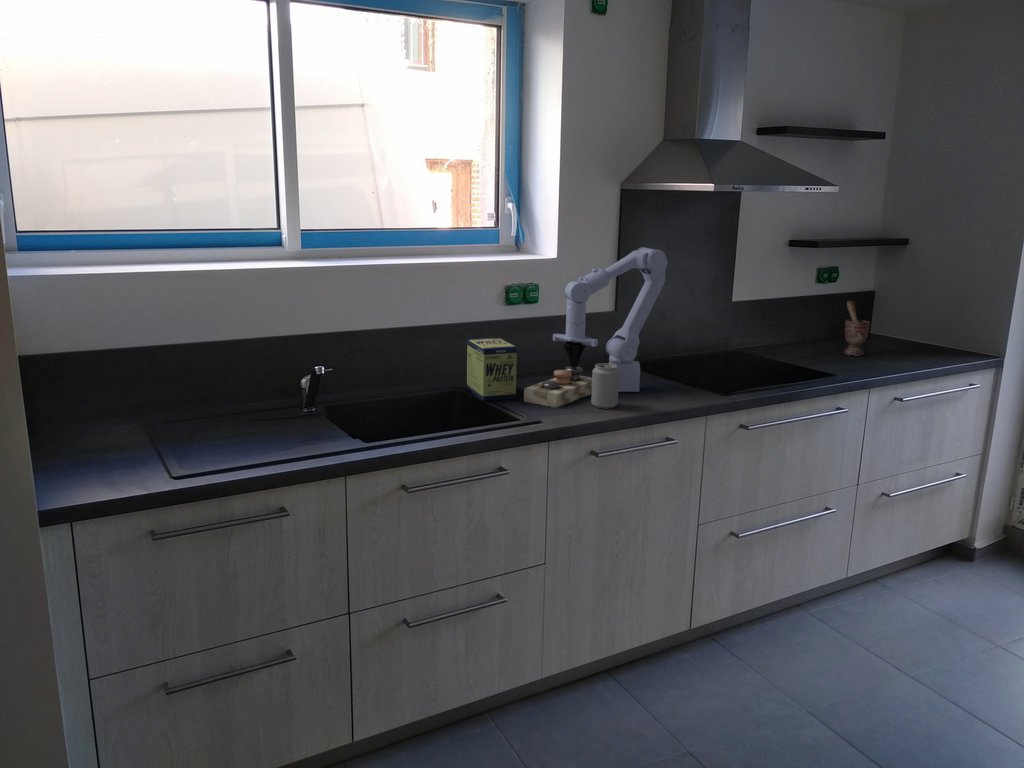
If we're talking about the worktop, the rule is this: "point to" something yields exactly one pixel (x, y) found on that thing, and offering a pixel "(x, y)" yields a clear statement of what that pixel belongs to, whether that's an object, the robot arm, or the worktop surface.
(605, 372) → the can
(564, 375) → the knob middle
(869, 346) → the worktop surface
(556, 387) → the knob
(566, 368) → the knob
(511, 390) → the protein box
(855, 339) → the mortar and pestle
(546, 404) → the console
